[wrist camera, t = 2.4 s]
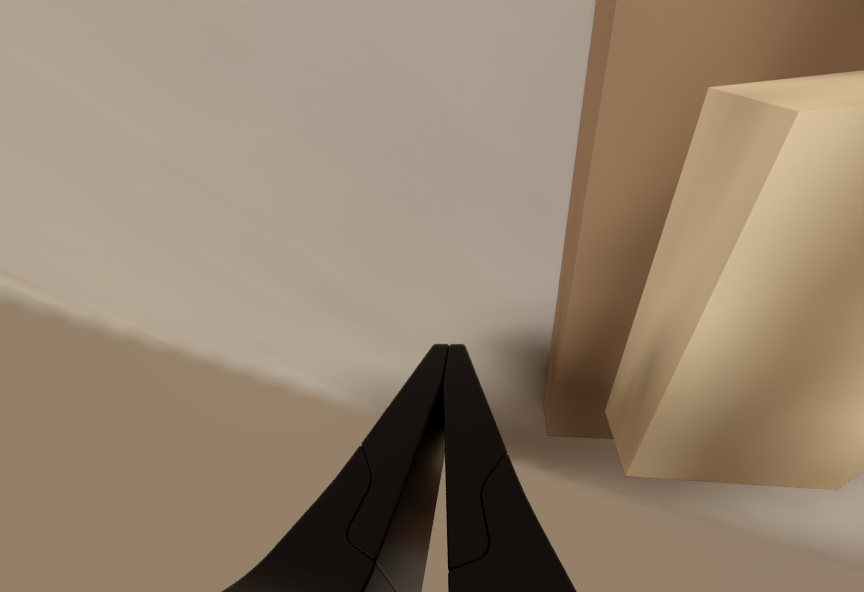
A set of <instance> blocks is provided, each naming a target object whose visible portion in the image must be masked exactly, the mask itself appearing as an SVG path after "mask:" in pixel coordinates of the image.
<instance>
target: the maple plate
mask: <svg viewBox="0 0 864 592" xmlns="http://www.w3.org/2000/svg"><path fill="white" fill-rule="evenodd" d="M605 413H606V416H607V419H608V422H609V425H610V429H611V432H612V435H613V438H614V442H615V445H616V448H617V451H618V454H619V458H620V461H621V464H622V467H623V471H624V474H625V476H632V477H647V478H662V479H677V480H692V481H707V482H723V483H738V484H753V485H768V486H783V487H798V488H813V489H828V490H838V489H839V488H841V487H842V486H843V485H845V484H846V483H847V482H849V481H850V480H851V479H853V478H854V477H855V476H857V475H858V474H859V473H861V472H862V471H863V470H864V70H862V71H853V72H844V73H835V74H826V75H817V76H808V77H798V78H789V79H780V80H771V81H762V82H753V83H744V84H735V85H726V86H717V87H709V88H708V91H707V94H706V97H705V100H704V104H703V107H702V110H701V113H700V116H699V119H698V122H697V125H696V129H695V132H694V135H693V138H692V141H691V144H690V147H689V150H688V153H687V157H686V160H685V163H684V166H683V169H682V172H681V175H680V178H679V182H678V185H677V188H676V191H675V194H674V197H673V200H672V203H671V206H670V210H669V213H668V216H667V219H666V222H665V225H664V228H663V231H662V235H661V238H660V241H659V244H658V247H657V250H656V253H655V256H654V259H653V263H652V266H651V269H650V272H649V275H648V278H647V281H646V284H645V288H644V291H643V294H642V297H641V300H640V303H639V306H638V309H637V312H636V316H635V319H634V322H633V325H632V328H631V331H630V334H629V337H628V341H627V344H626V347H625V350H624V353H623V356H622V359H621V362H620V365H619V369H618V372H617V375H616V378H615V381H614V384H613V387H612V390H611V394H610V397H609V400H608V403H607V406H606V409H605Z"/></svg>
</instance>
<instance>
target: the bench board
mask: <svg viewBox="0 0 864 592" xmlns="http://www.w3.org/2000/svg"><path fill="white" fill-rule="evenodd" d="M862 70H864V0H596V7H595V15H594V22H593V30H592V37H591V45H590V53H589V60H588V68H587V76H586V83H585V91H584V98H583V106H582V114H581V121H580V129H579V137H578V144H577V152H576V159H575V167H574V175H573V182H572V190H571V198H570V205H569V213H568V221H567V228H566V236H565V243H564V251H563V259H562V266H561V274H560V282H559V289H558V297H557V304H556V312H555V320H554V327H553V335H552V343H551V350H550V358H549V365H548V373H547V381H546V388H545V396H544V404H543V408H544V415H545V421H546V428H547V435H548V436H565V437H585V438H605V439H614V438H613V435H612V432H611V429H610V425H609V422H608V419H607V416H606V413H605V409H606V406H607V403H608V400H609V397H610V394H611V390H612V387H613V384H614V381H615V378H616V375H617V372H618V369H619V365H620V362H621V359H622V356H623V353H624V350H625V347H626V344H627V341H628V337H629V334H630V331H631V328H632V325H633V322H634V319H635V316H636V312H637V309H638V306H639V303H640V300H641V297H642V294H643V291H644V288H645V284H646V281H647V278H648V275H649V272H650V269H651V266H652V263H653V259H654V256H655V253H656V250H657V247H658V244H659V241H660V238H661V235H662V231H663V228H664V225H665V222H666V219H667V216H668V213H669V210H670V206H671V203H672V200H673V197H674V194H675V191H676V188H677V185H678V182H679V178H680V175H681V172H682V169H683V166H684V163H685V160H686V157H687V153H688V150H689V147H690V144H691V141H692V138H693V135H694V132H695V129H696V125H697V122H698V119H699V116H700V113H701V110H702V107H703V104H704V100H705V97H706V94H707V91H708V88H709V87H717V86H726V85H735V84H744V83H753V82H762V81H771V80H780V79H789V78H798V77H808V76H817V75H826V74H835V73H844V72H853V71H862Z"/></svg>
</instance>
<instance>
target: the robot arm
mask: <svg viewBox="0 0 864 592" xmlns="http://www.w3.org/2000/svg"><path fill="white" fill-rule="evenodd" d="M444 455H445V467H446V468H445V471H446V509H447V547H448V570H449V573H448V588H449V592H576V590H575V588H574V586H573V584H572V582H571V581H570V579H569V577H568V575H567V573H566V571H565V570H564V568H563V566H562V564H561V562H560V560H559V559H558V557H557V555H556V553H555V551H554V549H553V547H552V546H551V544H550V542H549V540H548V538H547V536H546V534H545V533H544V531H543V529H542V527H541V525H540V523H539V521H538V520H537V518H536V515H535V514H534V512H533V510H532V508H531V505H530V503H529V501H528V500H527V497H526V496H525V493H524V491H523V489H522V487H521V484H520V482H519V480H518V477H517V475H516V473H515V470H514V468H513V465H512V463H511V460H510V458H509V456H508V455H507V450H506V448H505V445H504V443H503V440H502V438H501V435H500V433H499V430H498V428H497V425H496V423H495V420H494V417H493V415H492V412H491V410H490V407H489V405H488V402H487V400H486V397H485V395H484V392H483V390H482V387H481V385H480V382H479V379H478V377H477V374H476V372H475V369H474V367H473V364H472V362H471V359H470V357H469V354H468V352H467V349H466V347H465V345H464V344H451V345H450V346H449V345H448V344H435V345H433V346H432V348H431V349H430V350H429V352H428V353H427V354H426V356H425V357H424V358H423V360H422V361H421V363H420V364H419V365H418V367H417V368H416V369H415V371H414V372H413V374H412V375H411V376H410V378H409V379H408V380H407V382H406V383H405V384H404V386H403V387H402V389H401V390H400V391H399V393H398V394H397V395H396V397H395V398H394V400H393V401H392V402H391V404H390V405H389V406H388V408H387V409H386V411H385V412H384V413H383V415H382V416H381V417H380V419H379V420H378V421H377V423H376V424H375V426H374V427H373V428H372V430H371V431H370V432H369V434H368V435H367V437H366V438H365V439H364V441H363V442H362V446H359V447H358V449H357V450H356V451H355V453H354V454H353V456H352V457H351V458H350V460H349V461H348V462H347V464H346V465H345V466H344V467H343V469H342V470H341V471H340V473H339V474H338V475H337V477H336V478H335V479H334V480H333V481H332V483H331V484H330V485H329V486H328V487H327V488H326V490H325V491H324V492H323V493H322V494H321V496H320V497H319V498H318V499H317V500H316V501H315V502H314V503H313V504H312V506H311V507H310V508H309V509H308V510H307V511H306V512H305V514H304V515H303V516H302V517H301V518H300V519H299V520H298V521H297V522H296V524H295V525H294V526H293V527H292V528H291V529H290V530H289V532H288V533H287V534H286V535H285V536H284V537H283V538H282V539H281V540H280V542H279V543H278V544H277V545H276V546H275V547H274V548H273V549H272V550H271V551H270V553H269V554H268V555H267V556H266V557H265V558H264V559H263V560H262V561H261V562H260V563H259V564H258V565H257V566H255V567H254V568H253V569H252V570H251V571H250V572H248V573H247V574H246V575H245V576H243V577H242V578H241V579H240V580H238V581H237V582H235V583H234V584H232V585H231V586H229V587H228V588H226V589H225V590H223V591H222V592H421V591H422V584H423V579H424V573H425V567H426V561H427V556H428V550H429V544H430V538H431V532H432V526H433V520H434V514H435V508H436V502H437V496H438V490H439V485H440V478H441V472H442V467H443V461H444Z"/></svg>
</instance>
